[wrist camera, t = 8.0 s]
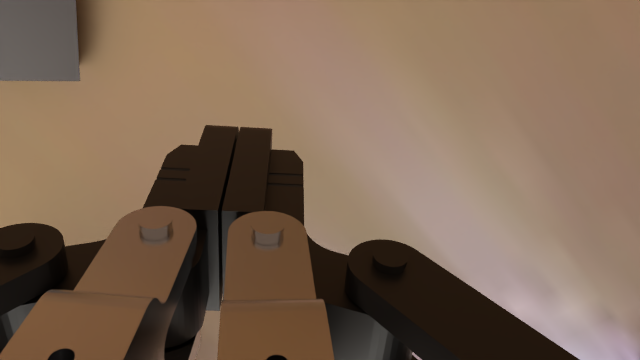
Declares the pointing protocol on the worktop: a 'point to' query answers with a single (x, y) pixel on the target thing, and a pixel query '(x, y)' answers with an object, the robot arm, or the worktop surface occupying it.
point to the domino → (38, 40)
